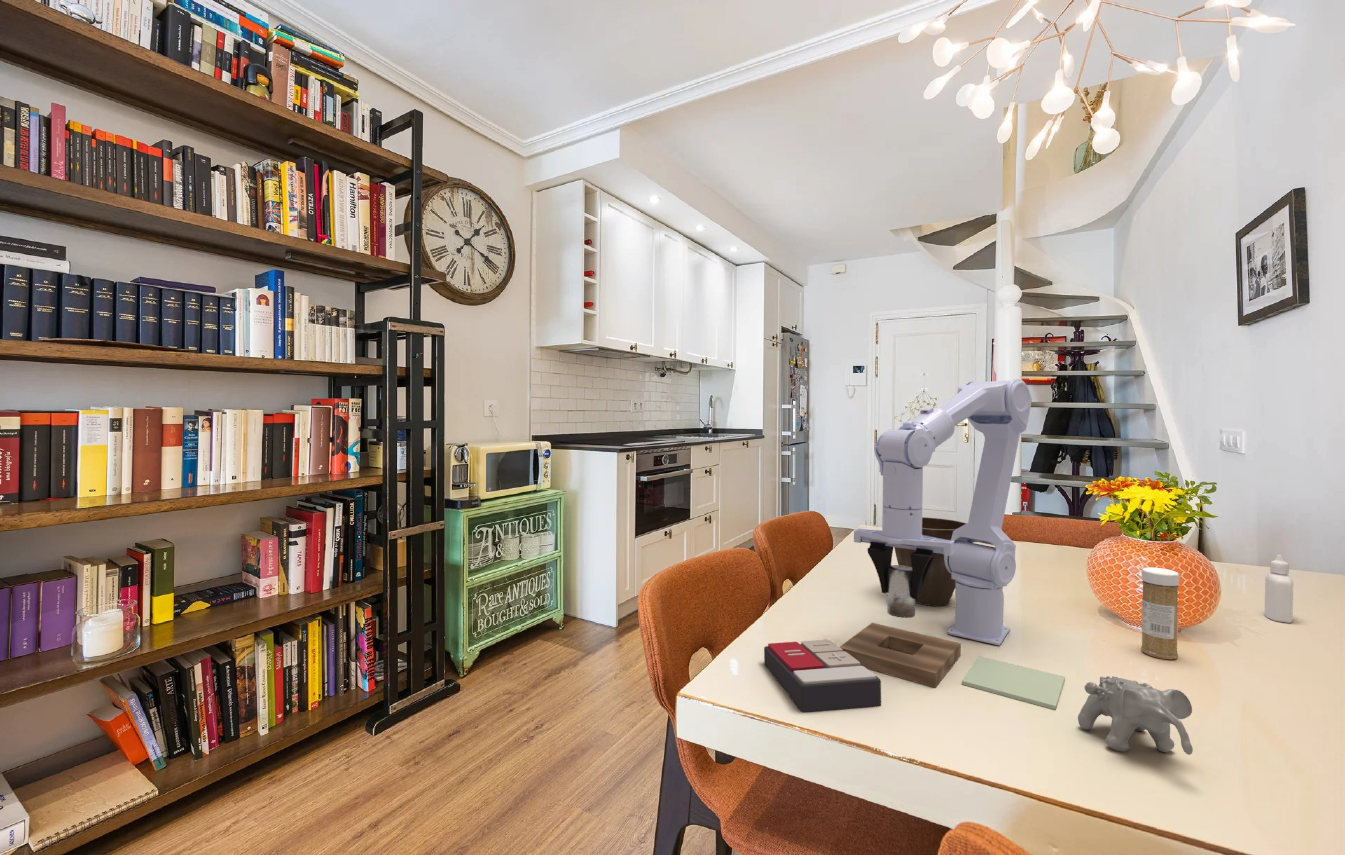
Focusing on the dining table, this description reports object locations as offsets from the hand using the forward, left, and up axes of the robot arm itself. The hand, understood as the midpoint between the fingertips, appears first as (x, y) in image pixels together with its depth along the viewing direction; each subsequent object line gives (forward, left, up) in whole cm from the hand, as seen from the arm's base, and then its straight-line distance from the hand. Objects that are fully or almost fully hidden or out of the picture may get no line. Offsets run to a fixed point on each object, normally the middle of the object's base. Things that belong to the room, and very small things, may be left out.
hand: (901, 594), depth 89 cm
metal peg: (0, 0, -3) cm, 3 cm away
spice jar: (-28, +31, -10) cm, 43 cm away
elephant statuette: (+8, +29, -10) cm, 32 cm away
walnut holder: (0, 0, -10) cm, 10 cm away
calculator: (+16, -6, -10) cm, 20 cm away
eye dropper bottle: (-64, +49, -10) cm, 81 cm away
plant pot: (-33, -5, -10) cm, 35 cm away
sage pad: (-2, +15, -10) cm, 18 cm away
